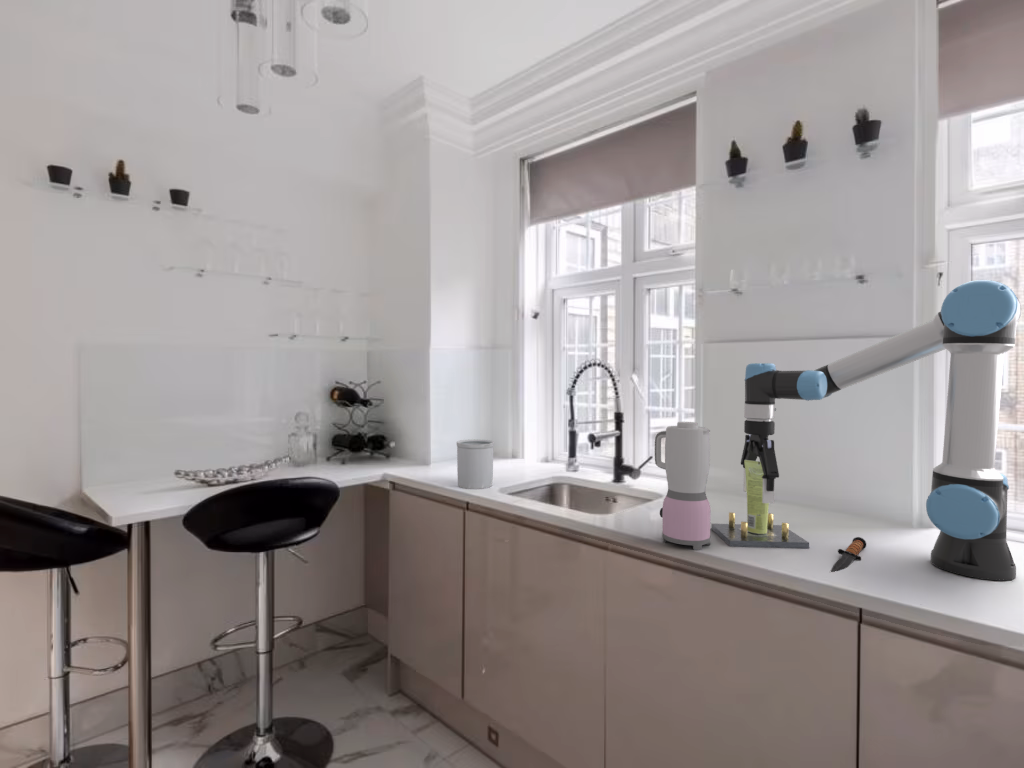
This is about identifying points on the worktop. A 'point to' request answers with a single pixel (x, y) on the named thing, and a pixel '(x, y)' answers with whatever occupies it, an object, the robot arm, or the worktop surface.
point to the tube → (755, 498)
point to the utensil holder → (475, 463)
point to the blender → (685, 484)
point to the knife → (849, 554)
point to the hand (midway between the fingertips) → (758, 497)
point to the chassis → (758, 535)
